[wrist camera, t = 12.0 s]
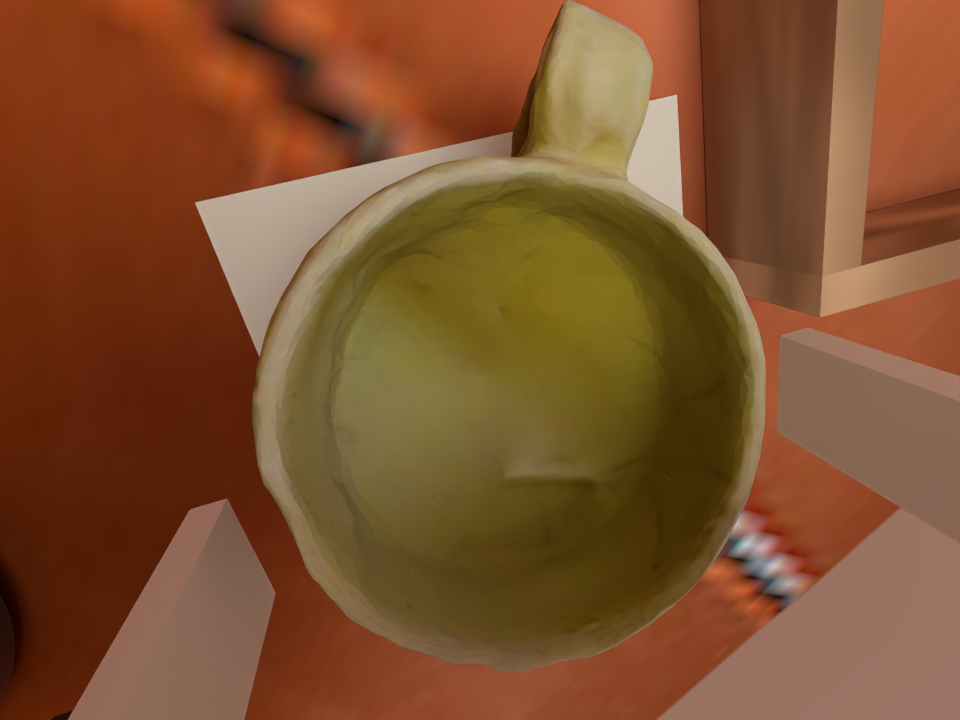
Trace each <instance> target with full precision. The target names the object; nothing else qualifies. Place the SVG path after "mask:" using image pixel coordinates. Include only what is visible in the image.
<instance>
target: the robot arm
mask: <svg viewBox="0 0 960 720" xmlns="http://www.w3.org/2000/svg"><path fill="white" fill-rule="evenodd" d="M777 433H779V434H781V435H782V436H784V437H785V438H787V439H789V440H790V441H792V442H794V443H795V444H797V445H799V446H800V447H802V448H804V449H805V450H807V451H808V452H810V453H812V454H813V455H815V456H817V457H818V458H820V459H822V460H823V461H825V462H827V463H828V464H830V465H832V466H833V467H835V468H836V469H838V470H840V471H841V472H843V473H845V474H846V475H848V476H850V477H851V478H853V479H855V480H856V481H858V482H859V483H861V484H863V485H864V486H866V487H868V488H869V489H871V490H873V491H874V492H876V493H878V494H879V495H881V496H883V497H884V498H886V499H887V500H889V501H891V502H892V503H894V504H896V505H897V506H899V507H901V508H902V509H904V510H906V511H907V512H909V513H911V514H912V515H914V516H916V517H917V518H919V519H921V520H922V521H924V522H925V523H927V524H929V525H930V526H932V527H934V528H935V529H937V530H938V531H940V532H942V533H943V534H945V535H947V536H949V537H950V538H952V539H953V540H955V541H957V542H958V543H960V376H957V375H954V374H951V373H948V372H945V371H942V370H939V369H935V368H932V367H929V366H926V365H923V364H920V363H917V362H914V361H911V360H907V359H904V358H901V357H898V356H895V355H892V354H889V353H886V352H883V351H879V350H876V349H873V348H870V347H867V346H864V345H861V344H858V343H855V342H851V341H848V340H845V339H842V338H839V337H836V336H833V335H830V334H827V333H824V332H820V331H817V330H814V329H811V328H808V327H807V328H804V329H800V330H797V331H794V332H790V333H787V334H783V335H780V343H779V374H778V404H777ZM274 598H275V591H274V589H273V587H272V585H271V583H270V581H269V579H268V577H267V575H266V573H265V571H264V569H263V567H262V565H261V563H260V561H259V559H258V557H257V555H256V554H255V552H254V550H253V548H252V546H251V544H250V542H249V540H248V538H247V536H246V534H245V532H244V530H243V528H242V526H241V524H240V522H239V520H238V518H237V516H236V515H235V513H234V511H233V509H232V507H231V505H230V503H229V501H228V499H224V500H220V501H217V502H213V503H210V504H207V505H203V506H200V507H196V508H193V509H190V510H189V512H188V513H187V515H186V517H185V519H184V520H183V522H182V524H181V525H180V527H179V529H178V531H177V532H176V534H175V536H174V538H173V539H172V541H171V543H170V544H169V546H168V548H167V550H166V551H165V553H164V555H163V557H162V558H161V560H160V562H159V563H158V565H157V567H156V569H155V570H154V572H153V574H152V575H151V577H150V579H149V581H148V582H147V584H146V586H145V588H144V589H143V591H142V593H141V594H140V596H139V598H138V600H137V601H136V603H135V605H134V607H133V608H132V610H131V612H130V613H129V615H128V617H127V619H126V620H125V622H124V624H123V626H122V627H121V629H120V631H119V632H118V634H117V636H116V638H115V639H114V641H113V643H112V644H111V646H110V648H109V650H108V651H107V653H106V655H105V657H104V658H103V660H102V662H101V663H100V665H99V667H98V669H97V670H96V672H95V674H94V676H93V677H92V679H91V681H90V682H89V684H88V686H87V688H86V689H85V691H84V693H83V694H82V696H81V698H80V700H79V701H78V703H77V705H76V707H75V708H74V710H73V711H70V712H67V713H64V714H61V715H58V716H55V717H54V718H53V719H52V720H244V719H245V715H246V711H247V706H248V702H249V698H250V694H251V690H252V686H253V682H254V678H255V674H256V670H257V666H258V662H259V658H260V654H261V650H262V646H263V642H264V638H265V634H266V630H267V626H268V622H269V618H270V614H271V610H272V606H273V602H274ZM14 661H15V638H14V630H13V626H12V622H11V618H10V615H9V613H8V610H7V607H6V605H5V603H4V601H3V599H2V596H1V594H0V701H1V699H2V698H3V696H4V694H5V692H6V690H7V688H8V685H9V682H10V679H11V676H12V672H13V668H14Z"/></svg>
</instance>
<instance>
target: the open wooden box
mask: <svg viewBox="0 0 960 720" xmlns="http://www.w3.org/2000/svg"><path fill="white" fill-rule="evenodd" d="M883 3H884V0H700V21H701V51H702V81H703V111H704V141H705V170H706V200H707V230H708V239H709V240H710V241H711V242H712V243H713V245H714V246H715V247H716V248H717V249H718V251H719V252H720V253H721V255H722V256H723V258H724V259H725V261H726V262H727V263H728V265H729V266H730V268H731V269H732V271H733V272H734V273H735V275H736V277H737V280H738V282H739V284H740V286H741V289H742V291H743V293H744V295H745V296H748V297H751V298H755V299H758V300H762V301H765V302H769V303H772V304H776V305H779V306H782V307H786V308H789V309H793V310H796V311H800V312H803V313H806V314H810V315H813V316H817V317H823V316H827V315H830V314H834V313H838V312H841V311H845V310H848V309H852V308H855V307H859V306H862V305H866V304H870V303H873V302H877V301H880V300H884V299H887V298H891V297H895V296H898V295H902V294H905V293H909V292H912V291H916V290H919V289H923V288H927V287H930V286H934V285H937V284H941V283H944V282H948V281H951V280H955V279H959V278H960V189H957V190H953V191H949V192H945V193H941V194H938V195H934V196H930V197H926V198H922V199H918V200H915V201H911V202H907V203H903V204H899V205H895V206H892V207H888V208H884V209H880V210H876V211H872V212H869V213H865V212H866V200H867V189H868V177H869V165H870V154H871V142H872V131H873V119H874V107H875V96H876V84H877V73H878V61H879V49H880V38H881V26H882V15H883Z"/></svg>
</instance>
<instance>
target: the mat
mask: <svg viewBox="0 0 960 720" xmlns="http://www.w3.org/2000/svg"><path fill="white" fill-rule="evenodd" d="M512 135H513V132H508V133H504V134H499V135H495V136H490V137H486V138H481V139H477V140H472V141H468V142H463V143H459V144H454V145H450V146H446V147H441V148H437V149H432V150H428V151H423V152H419V153H414V154H410V155H405V156H401V157H396V158H392V159H388V160H383V161H379V162H374V163H370V164H365V165H361V166H356V167H352V168H347V169H343V170H338V171H334V172H329V173H325V174H321V175H316V176H312V177H307V178H303V179H298V180H294V181H289V182H285V183H280V184H276V185H271V186H267V187H263V188H258V189H254V190H249V191H245V192H240V193H236V194H231V195H227V196H222V197H218V198H213V199H209V200H204V201H200V202H196V203H195V204H196V206H197V209H198V211H199V214H200V216H201V218H202V221H203V223H204V226H205V228H206V230H207V233H208V235H209V238H210V240H211V242H212V245H213V247H214V250H215V252H216V254H217V257H218V259H219V262H220V264H221V266H222V269H223V271H224V273H225V276H226V278H227V281H228V283H229V285H230V288H231V290H232V293H233V295H234V297H235V300H236V302H237V305H238V307H239V309H240V312H241V314H242V317H243V319H244V321H245V324H246V326H247V329H248V331H249V333H250V336H251V338H252V341H253V343H254V345H255V348H256V350H257V353H258V355H259V357H260V353H261V349H262V345H263V340H264V337H265V334H266V331H267V328H268V325H269V322H270V319H271V317H272V315H273V313H274V310H275V308H276V306H277V304H278V302H279V300H280V298H281V296H282V294H283V293H284V291H285V289H286V288H287V286H288V284H289V283H290V281H291V279H292V277H293V276H294V274H295V272H296V271H297V269H298V267H299V266H300V264H301V262H302V261H303V259H304V257H305V255H306V254H307V252H308V251H309V250H310V249H311V248H312V247H313V246H314V245H315V244H316V243H317V242H318V241H319V240H320V239H321V238H322V237H323V236H324V235H325V234H326V233H327V232H328V231H329V230H331V229H332V228H333V227H334V226H335V225H336V224H337V223H338V222H339V221H340V220H341V219H342V218H343V217H344V216H345V215H346V214H348V213H349V212H350V211H351V210H353V209H354V208H355V207H357V206H358V205H359V204H360V203H362V202H363V201H364V200H366V199H367V198H368V197H370V196H371V195H373V194H374V193H376V192H378V191H379V190H381V189H383V188H384V187H386V186H389V185H391V184H393V183H395V182H397V181H399V180H401V179H403V178H406V177H408V176H410V175H412V174H414V173H416V172H418V171H420V170H423V169H425V168H427V167H430V166H433V165H437V164H440V163H444V162H450V161H455V160H461V159H466V158H472V157H478V156H505V157H511V150H512ZM627 177H628V181H629V182H630V183H632V184H633V185H635V186H636V187H638V188H639V189H641V190H642V191H644V192H645V193H647V194H648V195H650V196H651V197H653V198H655V199H656V200H658V201H660V202H661V203H663V204H665V205H666V206H668V207H670V208H671V209H673V210H675V211H676V212H678V213H679V214H680V215H681V216H683V203H682V184H681V164H680V145H679V126H678V106H677V95H673V96H669V97H664V98H660V99H655V100H651V101H649V104H648V109H647V113H646V117H645V120H644V123H643V125H642V128H641V130H640V133H639V136H638V138H637V141H636V144H635V146H634V149H633V152H632V155H631V157H630V160H629V163H628V168H627Z"/></svg>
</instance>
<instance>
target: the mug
mask: <svg viewBox="0 0 960 720" xmlns="http://www.w3.org/2000/svg"><path fill="white" fill-rule="evenodd" d="M653 69H654V66H653V62H652V59H651V57H650V55H649V53H648V51H647V49H646V47H645V44H644V42H643V40H642V39H641V37H640V36H639V35H637V34H636V33H635V32H633V31H632V30H631V29H629V28H628V27H626V26H624V25H622V24H621V23H619V22H617V21H615V20H613V19H611V18H608V17H606V16H604V15H602V14H600V13H598V12H596V11H594V10H592V9H590V8H588V7H586V6H584V5H582V4H579V3H576V2H574V1H571V0H567V1H565V2H564V3H563V4H562V6H561V8H560V10H559V13H558V15H557V17H556V19H555V21H554V23H553V25H552V28H551V30H550V32H549V34H548V36H547V39H546V41H545V44H544V46H543V50H542V53H541V57H540V60H539V64H538V68H537V71H536V73H535V75H534V77H533V79H532V81H531V83H530V86H529V89H528V93H527V96H526V99H525V103H524V105H523V108H522V111H521V115H520V118H519V121H518V123H517V124H516V126H515V127H514V130H513V135H512V150H511V157H505V156H478V157H472V158H466V159H461V160H455V161H450V162H444V163H440V164H437V165H433V166H430V167H427V168H425V169H423V170H420V171H418V172H416V173H414V174H412V175H410V176H408V177H406V178H403V179H401V180H399V181H397V182H395V183H393V184H391V185H389V186H386V187H384V188H383V189H381V190H379V191H378V192H376V193H374V194H373V195H371V196H370V197H368V198H367V199H366V200H364V201H363V202H362V203H360V204H359V205H358V206H357V207H355V208H354V209H353V210H351V211H350V212H349V213H348V214H346V215H345V216H344V217H343V218H342V219H341V220H340V221H339V222H338V223H337V224H336V225H335V226H334V227H333V228H332V229H331V230H329V231H328V232H327V233H326V234H325V235H324V236H323V237H322V238H321V239H320V240H319V241H318V242H317V243H316V244H315V245H314V246H313V247H312V248H311V249H310V250H309V251H308V252H307V254H306V255H305V257H304V259H303V261H302V262H301V264H300V266H299V267H298V269H297V271H296V272H295V274H294V276H293V277H292V279H291V281H290V283H289V284H288V286H287V288H286V289H285V291H284V293H283V294H282V296H281V298H280V300H279V302H278V304H277V306H276V308H275V310H274V313H273V315H272V317H271V319H270V322H269V325H268V328H267V331H266V334H265V337H264V340H263V345H262V349H261V353H260V357H259V361H258V364H257V368H256V371H255V376H254V385H253V394H252V423H253V432H254V439H255V447H256V456H257V465H258V468H259V471H260V474H261V478H262V481H263V484H264V486H265V487H266V488H267V489H268V490H269V492H270V493H271V495H272V497H273V498H274V500H275V502H276V503H277V505H278V507H279V509H280V510H281V512H282V514H283V516H284V518H285V520H286V522H287V524H288V526H289V528H290V530H291V533H292V535H293V537H294V540H295V542H296V544H297V547H298V549H299V551H300V554H301V556H302V558H303V561H304V564H305V567H306V569H307V571H308V573H309V574H310V576H311V578H312V579H314V580H315V581H316V582H317V583H319V585H320V586H321V587H322V588H323V589H324V591H325V592H326V593H327V594H328V596H329V597H330V598H331V599H332V600H333V601H334V602H335V603H336V604H337V605H338V607H339V608H340V609H341V610H342V611H343V612H344V613H345V615H346V616H347V617H348V618H349V619H351V620H352V621H354V622H356V623H357V624H359V625H361V626H363V627H364V628H366V629H368V630H370V631H371V632H373V633H375V634H378V635H380V636H383V637H385V638H387V639H388V640H390V641H392V642H393V643H395V644H397V645H398V646H400V647H402V648H405V649H410V650H415V651H419V652H422V653H424V654H427V655H430V656H432V657H435V658H437V659H440V660H443V661H445V662H448V663H450V664H483V665H486V666H489V667H491V668H494V669H498V670H501V671H505V672H517V671H526V670H533V669H537V668H542V667H545V666H548V665H551V664H555V663H558V662H561V661H564V660H573V659H584V658H588V657H592V656H595V655H598V654H600V653H602V652H605V651H607V650H609V649H611V648H614V647H616V646H617V645H619V644H620V643H622V642H624V641H625V640H627V639H628V638H630V637H631V636H633V635H634V634H636V633H637V632H639V631H641V630H642V629H644V628H645V627H647V626H648V625H650V624H651V623H652V622H653V621H655V620H656V619H657V618H659V617H660V616H661V615H662V614H664V613H665V612H666V611H668V610H669V609H670V608H671V607H673V606H674V605H675V604H676V603H677V602H678V601H679V600H680V599H681V598H682V597H683V596H684V595H685V594H686V593H688V592H689V591H690V590H691V589H692V588H693V587H694V586H695V584H696V583H697V582H698V581H699V579H700V578H701V577H702V576H703V574H704V573H705V572H706V571H707V569H708V568H709V567H710V566H711V564H712V563H713V562H714V561H715V559H716V557H717V556H718V554H719V553H720V551H721V550H722V548H723V546H724V545H725V543H726V542H727V539H728V537H729V535H730V533H731V531H732V529H733V527H734V525H735V523H736V521H737V519H738V517H739V515H740V513H741V511H742V509H743V507H744V506H745V504H746V502H747V500H748V498H749V495H750V492H751V488H752V484H753V480H754V477H755V473H756V469H757V465H758V462H759V458H760V453H761V444H762V439H763V434H764V425H765V410H766V364H765V357H764V351H763V346H762V341H761V336H760V333H759V330H758V326H757V323H756V321H755V319H754V316H753V314H752V312H751V309H750V307H749V305H748V302H747V300H746V298H745V295H744V293H743V291H742V289H741V286H740V284H739V282H738V280H737V277H736V275H735V273H734V272H733V271H732V269H731V268H730V266H729V265H728V263H727V262H726V261H725V259H724V258H723V256H722V255H721V253H720V252H719V251H718V249H717V248H716V247H715V246H714V245H713V243H712V242H711V241H710V240H709V239H708V238H707V237H706V235H705V234H704V233H703V232H702V231H701V230H700V229H699V228H697V227H696V226H695V225H693V224H692V223H690V222H689V221H688V220H686V219H685V218H684V217H683V216H681V215H680V214H679V213H678V212H676V211H675V210H673V209H671V208H670V207H668V206H666V205H665V204H663V203H661V202H660V201H658V200H656V199H655V198H653V197H651V196H650V195H648V194H647V193H645V192H644V191H642V190H641V189H639V188H638V187H636V186H635V185H633V184H632V183H630V182H629V181H628V177H627V168H628V163H629V160H630V157H631V155H632V152H633V149H634V146H635V144H636V141H637V138H638V136H639V133H640V130H641V128H642V125H643V123H644V120H645V117H646V113H647V109H648V104H649V96H650V89H651V82H652V76H653Z"/></svg>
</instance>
